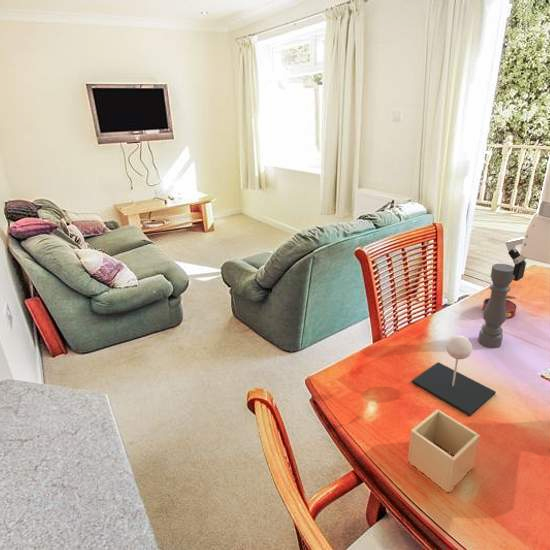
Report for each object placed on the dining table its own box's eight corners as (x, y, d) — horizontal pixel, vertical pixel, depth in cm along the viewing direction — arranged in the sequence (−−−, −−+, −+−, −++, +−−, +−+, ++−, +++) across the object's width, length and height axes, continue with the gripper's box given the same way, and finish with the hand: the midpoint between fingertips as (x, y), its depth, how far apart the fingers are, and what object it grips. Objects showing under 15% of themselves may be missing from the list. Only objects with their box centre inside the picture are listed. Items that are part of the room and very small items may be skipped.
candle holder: (476, 344, 114) (489, 269, 104) (479, 334, 119) (492, 261, 109) (499, 350, 111) (515, 273, 101) (502, 339, 115) (517, 265, 105)
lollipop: (441, 375, 101) (448, 328, 95) (465, 381, 99) (474, 333, 93) (439, 390, 96) (446, 341, 90) (465, 396, 94) (473, 346, 88)
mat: (495, 393, 95) (495, 391, 95) (469, 416, 89) (470, 414, 88) (437, 364, 107) (438, 361, 107) (411, 382, 101) (412, 380, 101)
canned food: (483, 325, 131) (471, 300, 131) (494, 311, 137) (483, 287, 136) (517, 323, 122) (505, 296, 121) (527, 308, 128) (516, 282, 127)
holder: (473, 467, 77) (480, 435, 73) (448, 493, 72) (454, 460, 68) (433, 439, 84) (437, 408, 80) (407, 461, 79) (410, 430, 75)
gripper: (621, 213, 71) (596, 293, 78) (522, 200, 84) (508, 270, 91) (607, 221, 67) (582, 305, 74) (506, 206, 80) (492, 279, 87)
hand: (541, 285), depth 82 cm, fingers open, 9 cm apart
